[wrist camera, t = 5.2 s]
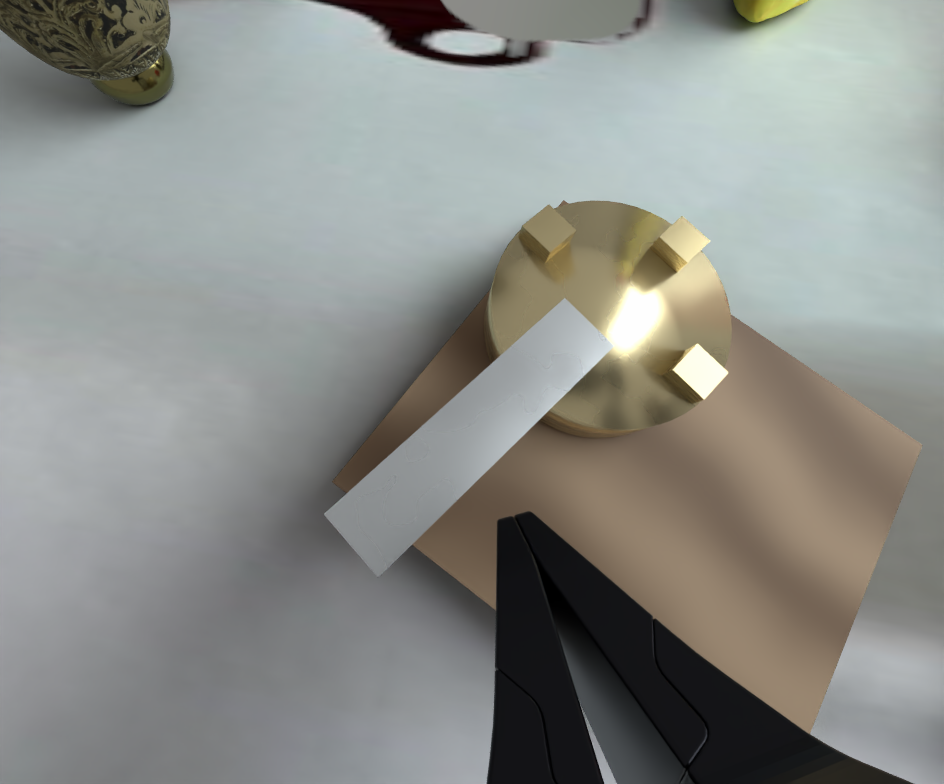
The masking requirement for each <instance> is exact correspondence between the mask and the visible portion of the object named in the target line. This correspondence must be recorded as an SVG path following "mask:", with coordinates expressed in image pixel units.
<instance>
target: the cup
mask: <svg viewBox="0 0 944 784" xmlns="http://www.w3.org/2000/svg"><path fill="white" fill-rule="evenodd" d="M0 30H2V31H3V32H4V33H5V34H6V35H8V36H9V37H10V38H11V39H12V40H14V41H15V42H16V43H18V44H19V45H20V46H22V47H23V48H24V49H26V50H27V51H28V52H30V53H31V54H33V55H34V56H36V57H37V58H39V59H41V60H42V61H44V62H46V63H47V64H49V65H51V66H53V67H55V68H57V69H59V70H62V71H64V72H66V73H69V74H72V75H75V76H79V77H82V78H87V79H90V81H91V82H92V83H93V85H94V86H95V87H96V88H97V89H99V90H100V91H101V92H103V93H104V94H106V95H107V96H109V97H110V98H112V99H114V100H116V101H118V102H121V103H124V104H129V105H143V104H148V103H152V102H154V101H157V100H158V99H160V98H162V97H163V96H164V95H165V94H166V93H167V92H168V91H169V90H170V88H171V86H172V84H173V80H174V71H173V66H172V61H171V58H170V56H169V54H168V52H167V51H166V50H165V48H166V46H167V43H168V39H169V35H170V12H169V6H168V1H167V0H0Z"/></svg>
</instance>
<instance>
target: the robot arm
mask: <svg viewBox="0 0 944 784" xmlns="http://www.w3.org/2000/svg"><path fill="white" fill-rule="evenodd" d="M495 670H496V671H495V693H494V716H493V730H492V740H491V750H490V760H489V768H488V776H487V784H604V781H603V778H602V775H601V772H600V768H599V765H598V762H597V759H596V755H595V752H594V749H593V745H592V742H591V739H590V736H589V732H588V729H587V726H586V723H585V719H584V716H583V713H582V709H581V706H580V703H581V705H582V707H583V710H584V712H585V714H586V716H587V718H588V721H589V723H590V725H591V727H592V729H593V732H594V734H595V736H596V738H597V740H598V743H599V745H600V747H601V749H602V751H603V754H604V756H605V758H606V760H607V762H608V765H609V767H610V769H611V771H612V773H613V776H614V778H615V780H616V782H617V784H913V783H911V782H909V781H906V780H904V779H901V778H899V777H897V776H894V775H892V774H889V773H887V772H885V771H882V770H880V769H877V768H875V767H873V766H870V765H868V764H865V763H863V762H861V761H858V760H856V759H854V758H852V757H849V756H847V755H845V754H843V753H841V752H839V751H837V750H836V749H834V748H832V747H830V746H829V745H827V744H825V743H823V742H822V741H820V740H818V739H817V738H815V737H814V736H812V735H810V734H809V733H807V732H806V731H805V730H803V729H802V728H800V727H799V726H797V725H796V724H795V723H793V722H792V721H790V720H789V719H788V718H786V717H785V716H783V715H782V714H781V713H779V712H778V711H776V710H775V709H774V708H772V707H771V706H769V705H768V704H767V703H765V702H764V701H762V700H761V699H760V698H758V697H757V696H756V695H754V694H753V693H751V692H750V691H749V690H747V689H746V688H744V687H743V686H742V685H740V684H739V683H737V682H736V681H735V680H733V679H732V678H730V677H729V676H728V675H726V674H725V673H724V672H722V671H721V670H720V669H718V668H717V667H716V666H714V665H713V664H712V663H710V662H709V661H708V660H706V659H705V658H704V657H702V656H701V655H700V654H698V653H697V652H696V651H694V650H693V649H692V648H691V647H690V646H688V645H687V644H686V643H685V642H683V641H682V640H681V639H680V638H679V637H677V636H676V635H675V634H674V633H672V632H671V631H670V630H669V629H668V628H667V627H666V626H664V625H663V624H662V623H661V622H660V621H659V620H657V619H656V618H654V619H653V616H652V615H651V614H650V613H649V612H648V611H647V610H646V609H644V608H643V607H642V606H641V605H640V604H639V603H637V602H636V601H635V600H634V599H633V598H632V597H630V596H629V595H628V594H627V593H626V592H625V591H623V590H622V589H621V588H620V587H619V586H618V585H616V584H615V583H614V582H613V581H612V580H611V579H610V578H608V577H607V576H606V575H605V574H604V573H603V572H601V571H600V570H599V569H598V568H597V567H596V566H594V565H593V564H592V563H591V562H590V561H589V560H587V559H586V558H585V557H584V556H583V555H582V554H580V553H579V552H578V551H577V550H576V549H575V548H573V547H572V546H571V545H570V544H569V543H568V542H566V541H565V540H564V539H563V538H562V537H561V536H559V535H558V534H557V533H556V532H555V531H554V530H552V529H551V528H550V527H549V526H548V525H547V524H546V523H544V522H543V521H542V520H541V519H540V518H539V517H537V516H536V515H535V514H534V513H533V512H530V511H527V512H523V513H519V514H516V515H515V516H514V517H513V516H508V517H504V518H500V519H498V521H497V558H496V633H495ZM578 699H579V700H578ZM579 701H580V703H579Z"/></svg>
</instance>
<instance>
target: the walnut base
mask: <svg viewBox="0 0 944 784" xmlns="http://www.w3.org/2000/svg"><path fill="white" fill-rule="evenodd" d="M566 204H568V203H567V202H565V201H564V200H563V202H562V203H561V204H560V205H559V206H558V207H560V206H563V205H566ZM490 290H491V289H490ZM490 290H489V291H488V293H487V294H486V295H485V296H484V298H483V299H482V300H481V301H480V302H479V304H478V305H477V306H476V307H475V308H474V310H473V311H472V312H471V313H470V315H469V316H468V317H467V318H466V319H465V321H464V322H463V323H462V324H461V326H460V327H459V328H458V329H457V330H456V332H455V333H454V334H453V335H452V336H451V338H450V339H449V340H448V341H447V343H446V344H445V345H444V346H443V347H442V349H441V350H440V351H439V352H438V353H437V355H436V356H435V357H434V358H433V360H432V361H431V362H430V363H429V364H428V366H427V367H426V368H425V369H424V370H423V372H422V373H421V374H420V375H419V377H418V378H417V379H416V380H415V381H414V383H413V384H412V385H411V386H410V387H409V389H408V390H407V391H406V392H405V394H404V395H403V396H402V397H401V398H400V400H399V401H398V402H397V403H396V405H395V406H394V407H393V408H392V409H391V411H390V412H389V413H388V414H387V415H386V417H385V418H384V419H383V420H382V422H381V423H380V424H379V425H378V426H377V428H376V429H375V430H374V431H373V432H372V434H371V435H370V436H369V437H368V439H367V440H366V441H365V442H364V443H363V445H362V446H361V447H360V448H359V449H358V451H357V452H356V453H355V454H354V456H353V457H352V458H351V459H350V460H349V462H348V463H347V464H346V465H345V466H344V468H343V469H342V470H341V471H340V473H339V474H338V475H337V476H336V477H335V479H334V480H333V481H332V482H333V483H334V484H335V485H337V486H338V487H339V488H340V489H342V490H343V491H344V492H346V493H348V492H349V491H350V490H351V489H352V488H353V487H354V486H356V485H357V484H358V483H359V482H360V481H361V480H362V479H363V478H364V477H366V476H367V475H368V474H369V473H370V472H371V471H372V470H373V469H375V468H376V467H377V466H378V465H379V464H380V463H381V462H382V461H383V460H385V459H386V458H387V457H388V456H389V455H390V454H391V453H392V452H393V451H395V450H396V449H397V448H398V447H399V446H400V445H401V444H402V443H404V442H405V441H406V440H407V439H408V438H409V437H410V436H411V435H412V434H414V433H415V432H416V431H417V430H418V429H419V428H420V427H421V426H422V425H424V424H425V423H426V422H427V421H428V420H429V419H430V418H431V417H433V416H434V415H435V414H436V413H437V412H438V411H439V410H440V409H441V408H443V407H444V406H445V405H446V404H447V403H448V402H449V401H450V400H451V399H453V398H454V397H455V396H456V395H457V394H458V393H459V392H460V391H461V390H463V389H464V388H465V387H466V386H467V385H468V384H469V383H470V382H472V381H473V380H474V379H475V378H476V377H477V376H478V375H479V374H480V373H482V372H483V371H484V370H485V369H486V368H487V367H488V366H489V365H490V364H491V363H490V360H489V357H488V354H487V350H486V345H485V340H484V317H485V310H486V306H487V301H488V298H489V294H490ZM731 324H732V335H731V346H730V351H729V356H728V359H727V362H726V365H725V367H724V369H725V370H726V371H727V372H729V373H728V374H727V375H726V376H725V377H724V378H723V379H722V380H721V382H720V383H719V384H718V385H717V386H716V387H715V388H714V389H713V391H712V392H711V393H710V394H709V395H708V396H707V397H706V398H705V399H704V400H702V401H701V402H700V403H699V404H698V405H697V406H695V407H694V408H692V409H691V410H689V411H688V412H687V413H685V414H683V415H681V416H679V417H677V418H675V419H673V420H671V421H669V422H665V423H662V424H659V425H656V426H653V427H650V428H646V429H643V430H640V431H637V432H633V433H630V434H627V435H624V436H618V437H612V438H587V437H579V436H575V435H571V434H567V433H564V432H561V431H559V430H556V429H553V428H551V427H549V426H547V425H545V424H544V423H542V422H540V421H538V422H537V423H536V424H535V425H534V426H532V427H531V428H530V429H529V430H528V431H527V432H526V433H525V434H524V435H523V436H522V437H521V438H520V439H519V440H518V441H517V442H516V443H515V444H514V445H513V446H512V447H511V448H510V449H509V450H508V451H507V452H506V453H505V454H504V455H503V456H502V457H501V458H500V459H499V460H498V461H497V462H496V463H495V464H494V465H493V466H492V467H491V468H490V469H489V470H488V471H487V472H486V473H485V474H484V475H483V476H481V477H480V478H479V479H478V480H477V481H476V482H475V483H474V484H473V485H472V486H471V487H470V488H469V489H468V490H467V491H466V492H465V493H464V494H463V495H462V496H461V497H460V498H459V499H458V500H457V501H456V502H455V503H454V504H453V505H452V506H451V507H450V508H449V509H448V510H447V511H446V512H445V513H444V514H443V515H442V516H441V517H440V518H439V519H438V520H437V521H436V522H435V523H434V524H433V525H432V526H430V527H429V528H428V529H427V530H426V531H425V532H424V533H423V534H422V535H421V536H420V537H419V538H418V539H417V540H416V541H415V542H414V543H413V544H412V545H413V546H414V547H416V548H417V549H418V550H419V551H421V552H422V553H423V554H425V555H426V556H427V557H428V558H430V559H431V560H432V561H433V562H435V563H436V564H437V565H439V566H440V567H441V568H442V569H444V570H445V571H446V572H447V573H449V574H450V575H451V576H453V577H454V578H455V579H456V580H458V581H459V582H460V583H461V584H463V585H464V586H465V587H467V588H468V589H469V590H470V591H472V592H473V593H474V594H475V595H477V596H478V597H479V598H481V599H482V600H483V601H484V602H486V603H487V604H488V605H489V606H491V607H492V608H493V609H495V610H496V558H497V521H498V519H500V518H504V517H508V516H513V517H514V516H515V515H516V514H519V513H523V512H527V511H530V512H533V513H534V514H535V515H536V516H537V517H539V518H540V519H541V520H542V521H543V522H544V523H546V524H547V525H548V526H549V527H550V528H551V529H552V530H554V531H555V532H556V533H557V534H558V535H559V536H561V537H562V538H563V539H564V540H565V541H566V542H568V543H569V544H570V545H571V546H572V547H573V548H575V549H576V550H577V551H578V552H579V553H580V554H582V555H583V556H584V557H585V558H586V559H587V560H589V561H590V562H591V563H592V564H593V565H594V566H596V567H597V568H598V569H599V570H600V571H601V572H603V573H604V574H605V575H606V576H607V577H608V578H610V579H611V580H612V581H613V582H614V583H615V584H616V585H618V586H619V587H620V588H621V589H622V590H623V591H625V592H626V593H627V594H628V595H629V596H630V597H632V598H633V599H634V600H635V601H636V602H637V603H639V604H640V605H641V606H642V607H643V608H644V609H646V610H647V611H648V612H649V613H650V614H651V615H652V616H653V619H654V618H656V619H657V620H659V621H660V622H661V623H662V624H663V625H664V626H666V627H667V628H668V629H669V630H670V631H671V632H672V633H674V634H675V635H676V636H677V637H679V638H680V639H681V640H682V641H683V642H685V643H686V644H687V645H688V646H690V647H691V648H692V649H693V650H694V651H696V652H697V653H698V654H700V655H701V656H702V657H704V658H705V659H706V660H708V661H709V662H710V663H712V664H713V665H714V666H716V667H717V668H718V669H720V670H721V671H722V672H724V673H725V674H726V675H728V676H729V677H730V678H732V679H733V680H735V681H736V682H737V683H739V684H740V685H742V686H743V687H744V688H746V689H747V690H749V691H750V692H751V693H753V694H754V695H756V696H757V697H758V698H760V699H761V700H762V701H764V702H765V703H767V704H768V705H769V706H771V707H772V708H774V709H775V710H776V711H778V712H779V713H781V714H782V715H783V716H785V717H786V718H788V719H789V720H790V721H792V722H793V723H795V724H796V725H797V726H799V727H800V728H802V729H803V730H805V731H806V732H807V733H809V734H810V732H811V730H812V727H813V724H814V722H815V719H816V717H817V714H818V712H819V709H820V707H821V704H822V701H823V699H824V696H825V694H826V691H827V689H828V686H829V683H830V681H831V678H832V676H833V673H834V671H835V668H836V666H837V663H838V660H839V658H840V655H841V653H842V650H843V648H844V645H845V643H846V640H847V637H848V635H849V632H850V630H851V627H852V625H853V622H854V620H855V617H856V614H857V612H858V609H859V607H860V604H861V602H862V599H863V597H864V594H865V591H866V589H867V586H868V584H869V581H870V579H871V576H872V573H873V571H874V568H875V566H876V563H877V561H878V558H879V556H880V553H881V550H882V548H883V545H884V543H885V540H886V538H887V535H888V533H889V530H890V527H891V525H892V522H893V520H894V517H895V515H896V512H897V510H898V507H899V504H900V502H901V499H902V497H903V494H904V492H905V489H906V487H907V484H908V481H909V479H910V476H911V474H912V471H913V469H914V466H915V463H916V461H917V458H918V456H919V453H920V451H921V448H922V446H923V445H922V444H920V443H919V442H917V441H916V440H914V439H913V438H911V437H910V436H908V435H907V434H906V433H904V432H903V431H901V430H900V429H898V428H897V427H895V426H894V425H892V424H891V423H889V422H888V421H886V420H885V419H884V418H882V417H881V416H879V415H878V414H876V413H875V412H873V411H872V410H870V409H869V408H867V407H866V406H864V405H863V404H862V403H860V402H859V401H857V400H856V399H854V398H853V397H851V396H850V395H848V394H847V393H845V392H844V391H842V390H841V389H840V388H838V387H837V386H835V385H834V384H832V383H831V382H829V381H828V380H826V379H825V378H823V377H822V376H820V375H819V374H818V373H816V372H815V371H813V370H812V369H810V368H809V367H807V366H806V365H804V364H803V363H801V362H800V361H798V360H797V359H796V358H794V357H793V356H791V355H790V354H788V353H787V352H785V351H784V350H782V349H781V348H779V347H778V346H776V345H775V344H774V343H772V342H771V341H769V340H768V339H766V338H765V337H763V336H762V335H760V334H759V333H757V332H756V331H754V330H753V329H752V328H750V327H749V326H747V325H746V324H744V323H743V322H741V321H740V320H738V319H737V318H735V317H734V316H732V315H731Z"/></svg>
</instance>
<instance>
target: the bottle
mask: <svg viewBox="0 0 944 784" xmlns="http://www.w3.org/2000/svg"><path fill="white" fill-rule="evenodd" d="M807 1H809V0H733V2H734V5H735V7H736V9H737V11H738V13H739V14H741V15H742V16H743V17H745V18H746V19H747V20H749V21H751V22H760V21H764V20H765V19H769V18H773V17H776V16H778V15H780V14H782V13H784V12H786V11H788V10H790V9H792V8H794V7H796V6H799V5H801V4H803V3H805V2H807Z"/></svg>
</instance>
